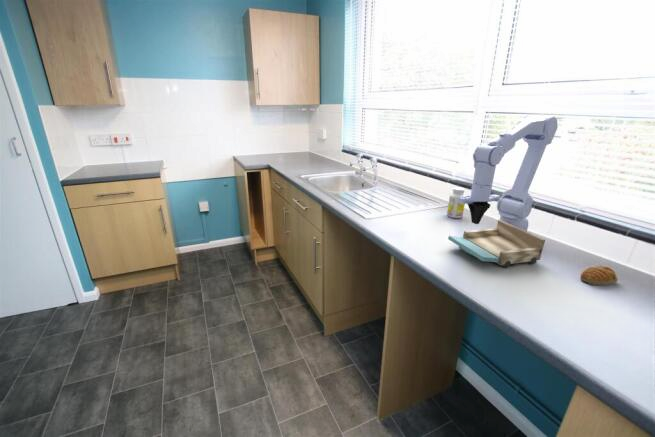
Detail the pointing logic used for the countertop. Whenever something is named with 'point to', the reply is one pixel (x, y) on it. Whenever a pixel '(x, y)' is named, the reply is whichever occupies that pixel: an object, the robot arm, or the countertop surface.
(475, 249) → the panel
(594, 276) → the pastry
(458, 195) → the supplement bottle
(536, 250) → the tray
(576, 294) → the countertop surface
